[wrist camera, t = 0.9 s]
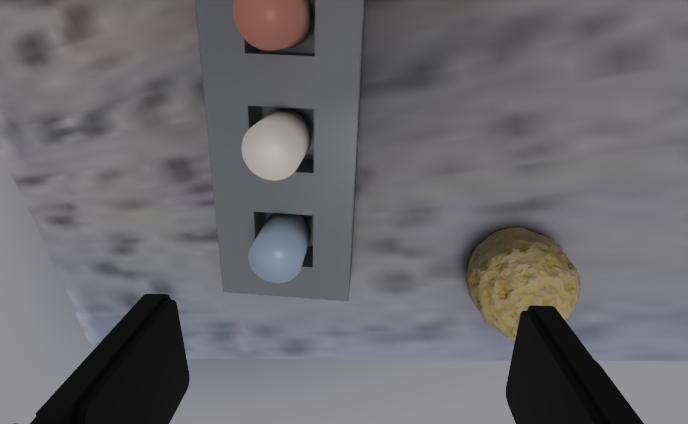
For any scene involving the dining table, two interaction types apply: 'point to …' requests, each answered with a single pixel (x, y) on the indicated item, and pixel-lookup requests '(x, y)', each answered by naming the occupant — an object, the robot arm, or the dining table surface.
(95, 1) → the dining table surface
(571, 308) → the rock
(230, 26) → the grey rectangular block
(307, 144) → the white rounded oval piece
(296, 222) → the light blue rounded cylinder
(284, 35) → the brown egg
